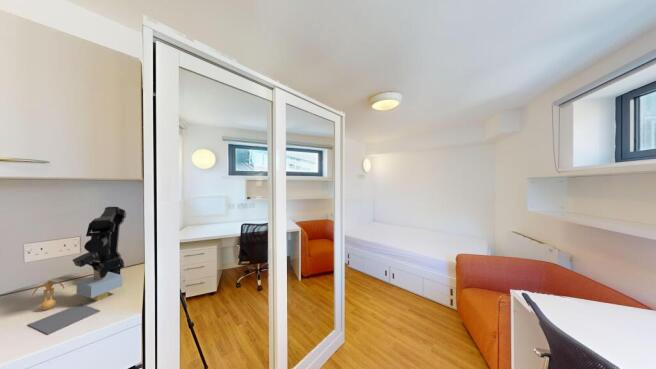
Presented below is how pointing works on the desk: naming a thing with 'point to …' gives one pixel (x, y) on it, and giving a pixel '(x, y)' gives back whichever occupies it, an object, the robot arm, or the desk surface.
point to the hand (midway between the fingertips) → (100, 276)
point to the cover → (98, 284)
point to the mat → (63, 318)
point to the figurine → (50, 302)
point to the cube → (100, 296)
